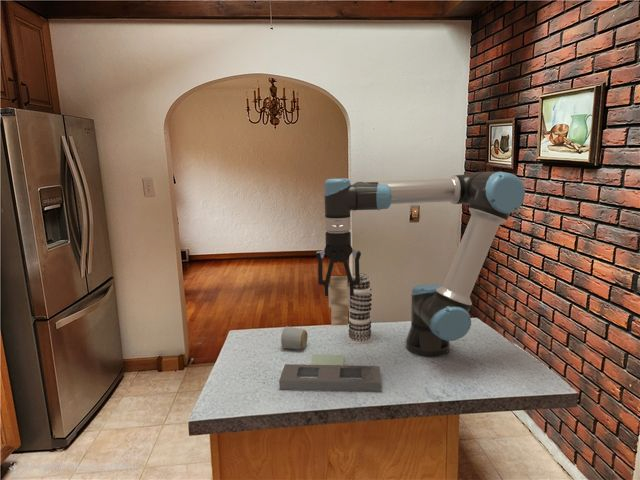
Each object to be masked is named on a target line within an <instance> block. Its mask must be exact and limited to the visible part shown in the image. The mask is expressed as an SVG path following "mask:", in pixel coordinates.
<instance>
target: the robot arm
mask: <svg viewBox="0 0 640 480" xmlns="http://www.w3.org/2000/svg"><path fill="white" fill-rule="evenodd" d="M323 196H324V199H323V200H324V214H325V215H324V222H325V223H324V225H325V226H324V228H325V231H326V232H325V235H324V236H325V247H324V250H323V249H322V250H320V251H319V250H318V251H316V254H315V257H316V259H317V268H318V269H317V272H318V273H317V275H318V276H317V277H318V279H317V280H318V285H320V286H321V285H322V286H323V287H324V296H325V297H328V308H329V309H331V283H330V282H331V276H332V273H333V268H334V264H335V263H342V264H343V266H344V271H345V273H346V276H347V282H348V283H347V288H348V308H349V307H350V296H353V295H354V285H356V284H359V283H360V279H359V273H360V258H361V255H362V253H361V251H360V250H355V249H353V247H352V241H351V240H352V239H351V238H352V236H351V235H352V234H351V232H350V231H351V227H352V225H351V222H352V220H351V218H352V217H351V212H352V211H354V212H355V211H374V210H375V211H376V210H377V211H380V210H381V211H382V210H387V209H389V208H390V207H391V205H396V204H397V205H399V204H400V205H402V204H421V203H423V204H424V203H443V202H444V203H446V202H450V203H451V204H452V205H467V206H469V207H468V210H469V212H470V217H469V220H468V222H467V225H466V228H465V230H464V233H463V236H462V237H461V240H460V242H459V245H458V248H457V250H456V252H455V255H454V258H453V260H452V262H451V265H450V267H449V269H448V272H447V275H446V278H445V280H444V283H443V284H437V283H436V284H434V283H426V284H425V283H424V284H417V285H414V286H413V287H412V289H411V294H410V296H411V306H410V308H411V309H410V310H411V315H410V317H411V318H410V319H411V321H410V323H411V325H410V328H409V332H408V333H407V336H406V339H405V347H406V349H407V351H408V352H410V353H412V354H414V355H417V356H421V357H424V358H425V357H427V358H437V357H443V356H445V355H448V353H449V352H450V351H451V350H450V349H451V342H453V341H454V342H455V341H457V340H459V339H461V338H464V337H465V336H466V335H467V334H468V332H469V331H470V329H471V326H472V318H471V316H470V315H471V314H470V313H469V312H470V310H471V308H472V305H473V302H472V299H471V294H472V291H473V290H474V286H475V284H476V282H477V279H478V277H479V275H480V272H481V270H482V267H483V266H484V262H485V260H486V258H487V255H488V254H489V251H490V249H491V247H492V246H491V245H492V243H493V241H494V239H495V236H496V234H497V232H498V229H499V226H500V225H503V224H505V223H507V221H508V219H509V217H510V215H511V213H514V212H515V211H516V210H517V211H518V209H520V208H521V206H522V205H523V203H524V200H525V196H526V188H525V186H524V185H523V181H522V180H521V179H520V178H519V177H518V176H517V175H515V174H513V173H510V172H505V171H477V172H471V173H465V174H455V175H451V176H450V177H449V178H434V179H433V178H432V179H430V178H429V179H412V180H407V179H406V180H388V181H386V180H385V181H366V182H365V181H356V182H354V183H352V184H351V180H350V179H349V178H344V177H343V178H328V179H326V180H325V182H324V195H323ZM325 255H326V256H327V258H328V259H329V262H328V263H329V264H328V267H327V271H326V275H325V278H323V277H324V272H323V270H324V268H323V267H324V266H323V263H324V262H323V259H324V257H325ZM351 255H352V257H353V258H354V274H355V280H353V279H352V275H353V274H352V273H351V269H350V266H349V261H348V259H349V258H350V256H351Z"/></svg>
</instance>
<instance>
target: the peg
mask: <svg viewBox="0 0 640 480" xmlns="http://www.w3.org/2000/svg"><path fill="white" fill-rule="evenodd" d="M330 284H331V308H330V312H331V313H330V316H331V317H330V319H331V320H330V321H331V322H330V323H331V324H330V325H331V326H349V307H348V288H347V284H348V277H347V275H344V276H343V275H341V276H339V275H334V276H333V275H331V276H330Z"/></svg>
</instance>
